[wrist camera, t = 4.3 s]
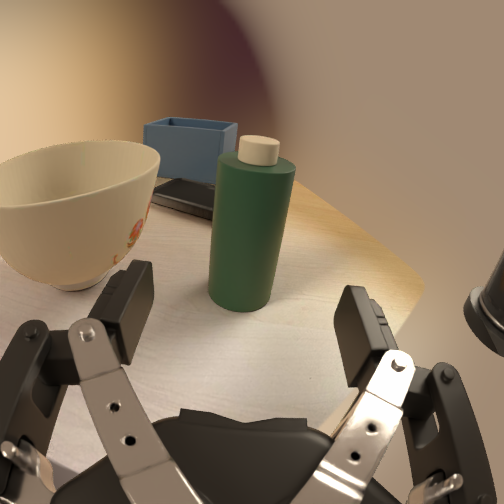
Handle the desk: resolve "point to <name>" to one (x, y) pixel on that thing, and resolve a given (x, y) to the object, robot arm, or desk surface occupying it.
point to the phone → (186, 196)
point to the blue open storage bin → (190, 146)
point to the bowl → (74, 209)
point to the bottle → (248, 223)
